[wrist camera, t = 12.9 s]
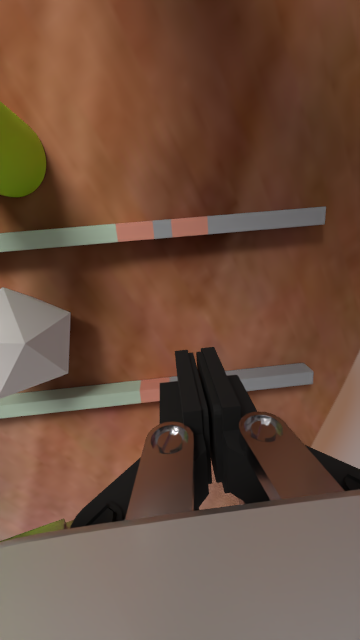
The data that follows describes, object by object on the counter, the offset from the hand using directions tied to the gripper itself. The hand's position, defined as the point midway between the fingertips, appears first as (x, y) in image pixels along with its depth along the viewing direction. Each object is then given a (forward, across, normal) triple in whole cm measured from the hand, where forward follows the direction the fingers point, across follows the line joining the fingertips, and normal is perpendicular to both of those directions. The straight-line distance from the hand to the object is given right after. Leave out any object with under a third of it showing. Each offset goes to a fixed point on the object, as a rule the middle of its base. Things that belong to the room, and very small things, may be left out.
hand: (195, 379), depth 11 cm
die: (+15, +13, +2) cm, 20 cm away
